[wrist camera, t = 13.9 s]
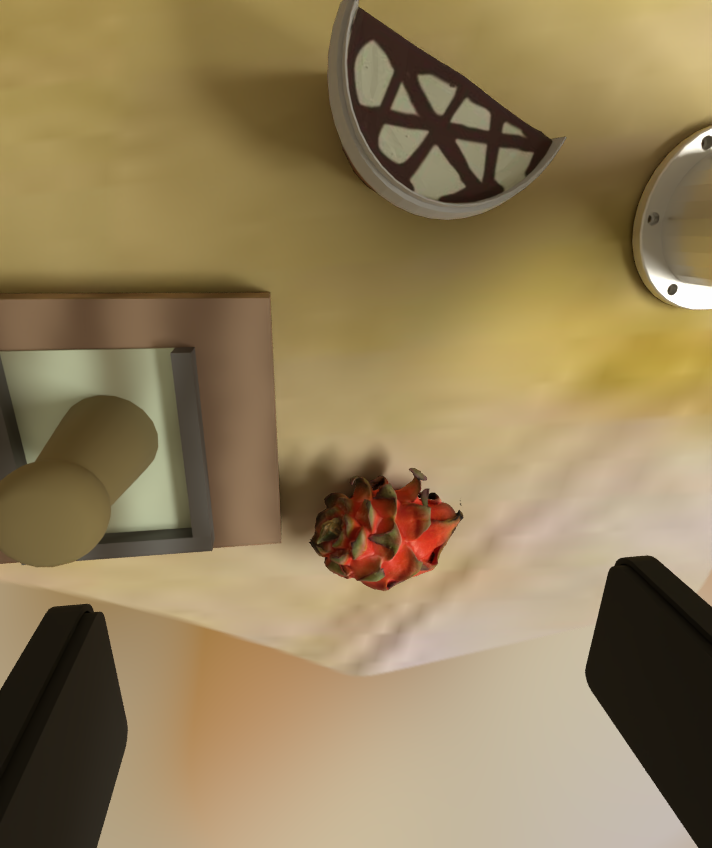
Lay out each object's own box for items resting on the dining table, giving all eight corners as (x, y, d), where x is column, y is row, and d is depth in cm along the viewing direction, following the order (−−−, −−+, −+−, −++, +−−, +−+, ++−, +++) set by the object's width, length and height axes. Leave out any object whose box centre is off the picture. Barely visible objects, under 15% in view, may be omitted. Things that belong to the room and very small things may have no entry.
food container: (282, 161, 31) (284, 134, 22) (324, 58, 30) (346, -18, 20) (446, 254, 35) (507, 264, 26) (492, 166, 33) (575, 143, 24)
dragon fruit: (293, 495, 42) (426, 473, 45) (311, 601, 40) (448, 570, 43) (306, 478, 34) (467, 452, 37) (329, 610, 32) (497, 571, 35)
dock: (270, 292, 34) (269, 301, 30) (280, 521, 41) (281, 555, 36) (-93, 293, 31) (-150, 304, 27) (-18, 541, 37) (-55, 580, 33)
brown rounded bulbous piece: (39, 417, 32) (-73, 506, 21) (127, 380, 32) (57, 451, 21) (93, 493, 34) (14, 606, 24) (175, 459, 34) (132, 557, 24)
